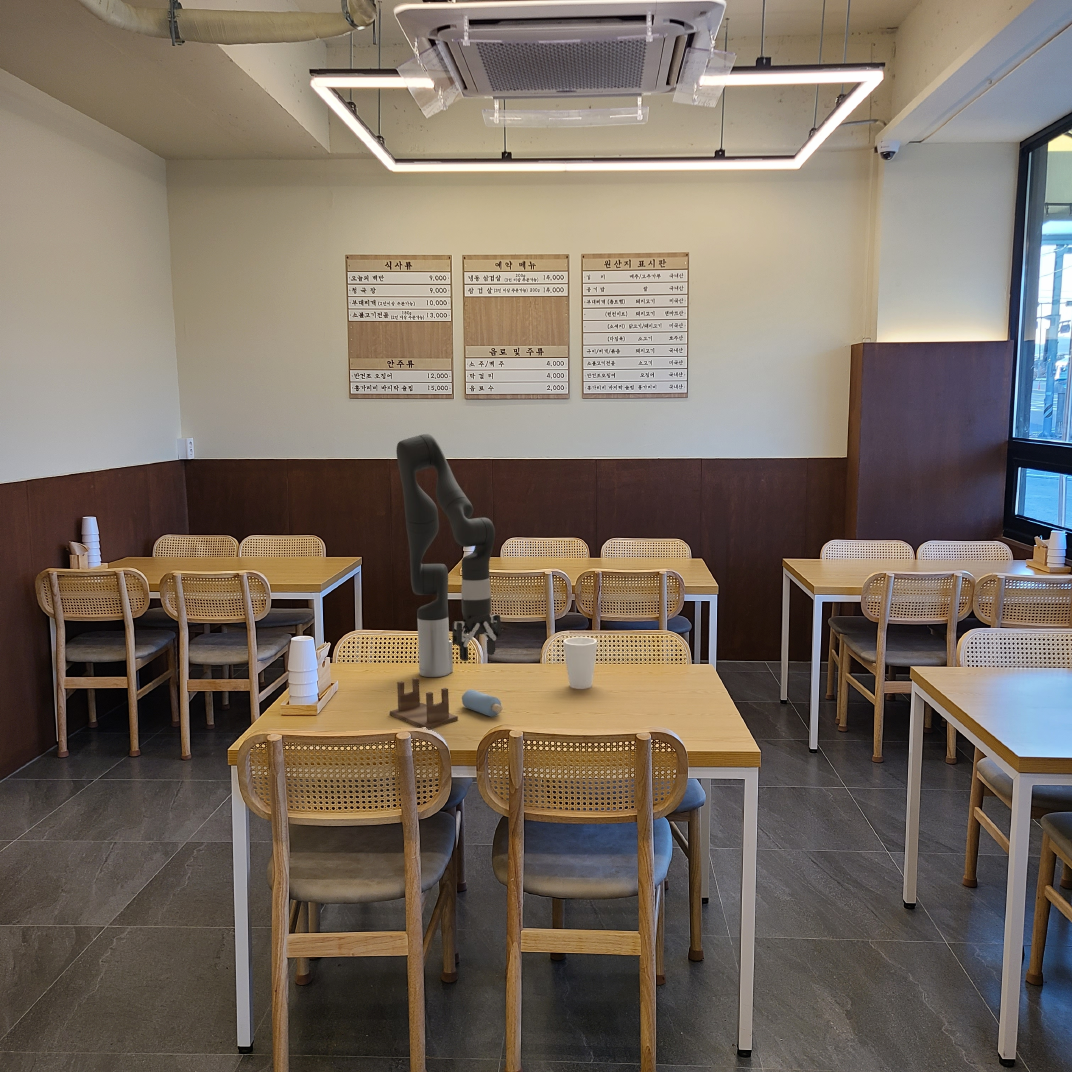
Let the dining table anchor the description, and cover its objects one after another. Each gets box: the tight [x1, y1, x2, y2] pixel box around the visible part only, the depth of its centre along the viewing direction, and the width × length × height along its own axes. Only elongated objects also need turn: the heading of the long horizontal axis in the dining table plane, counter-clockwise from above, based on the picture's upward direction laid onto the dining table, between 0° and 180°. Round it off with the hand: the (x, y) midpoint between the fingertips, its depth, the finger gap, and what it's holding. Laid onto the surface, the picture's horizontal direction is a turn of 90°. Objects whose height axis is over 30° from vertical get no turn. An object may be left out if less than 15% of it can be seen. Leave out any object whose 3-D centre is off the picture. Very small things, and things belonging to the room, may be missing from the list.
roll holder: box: [389, 677, 459, 729], centre depth 239 cm, size 16×10×8 cm, turn 42°
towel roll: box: [461, 689, 503, 718], centre depth 243 cm, size 14×5×5 cm, turn 42°
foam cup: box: [563, 636, 598, 690], centre depth 264 cm, size 10×9×13 cm
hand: (477, 657), depth 241 cm, fingers open, 8 cm apart
